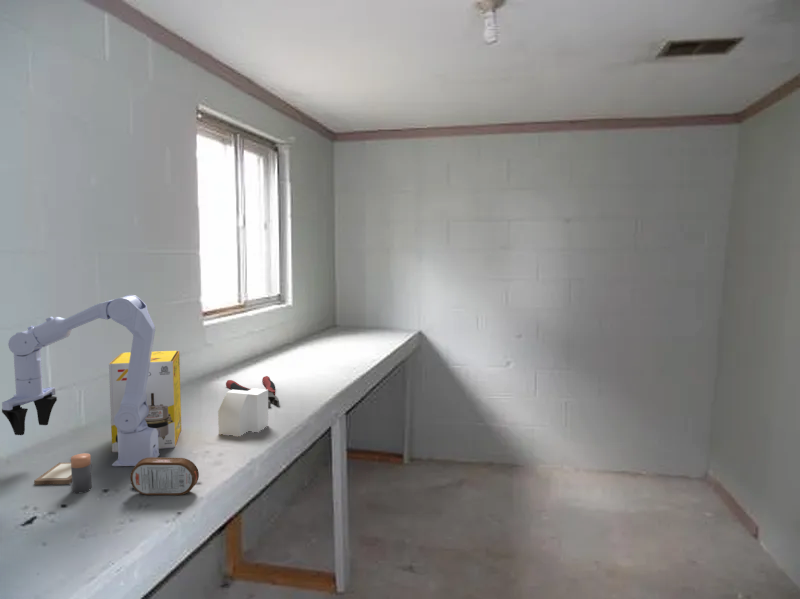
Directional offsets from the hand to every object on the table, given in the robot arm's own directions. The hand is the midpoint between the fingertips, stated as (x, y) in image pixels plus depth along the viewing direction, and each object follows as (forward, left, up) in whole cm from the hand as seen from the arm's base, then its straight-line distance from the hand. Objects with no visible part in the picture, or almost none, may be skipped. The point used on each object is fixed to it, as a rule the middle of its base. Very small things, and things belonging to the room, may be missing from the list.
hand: (31, 429), depth 142 cm
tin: (-39, +17, -10) cm, 44 cm away
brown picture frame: (-10, +6, -10) cm, 15 cm away
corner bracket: (-48, -27, -10) cm, 56 cm away
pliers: (-43, -68, -11) cm, 81 cm away
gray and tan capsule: (-19, +14, -10) cm, 26 cm away
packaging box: (-22, -19, -10) cm, 31 cm away
